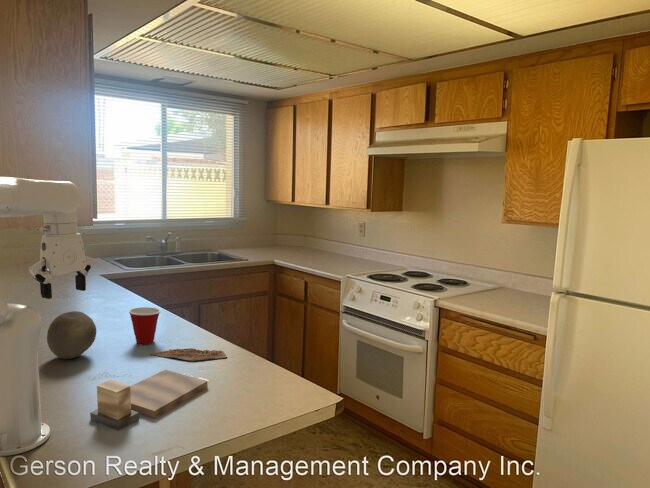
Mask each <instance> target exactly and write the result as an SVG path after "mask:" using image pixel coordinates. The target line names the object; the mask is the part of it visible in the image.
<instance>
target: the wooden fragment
mask: <svg viewBox="0 0 650 488" xmlns="http://www.w3.org/2000/svg"><path fill="white" fill-rule="evenodd" d="M150 356H158V357H163V358H172V359H179V360H185V361H190V362H195V361H204V360H214V359H215V360H216V359H223V358H227V354H226V353H225V351H223V350H215V349H214V350H208V349H206V350H205V349H204V350H202V349H201V350H199V349H197V348H176V349H175V348H174V349H169V350H164V351H160V352H159V351H158V352H155V353H150Z"/></svg>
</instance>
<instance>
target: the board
mask: <svg viewBox="0 0 650 488" xmlns="http://www.w3.org/2000/svg"><path fill="white" fill-rule="evenodd" d="M184 374H185V373H184ZM184 374H182V373H180V372H176V371H172V370H168V369H164V370H161V371H159V372H158V373H155V374H153V375H151V376H149V377H147V378H145V379H142V380H141V381H139V382H136V383H134V384H132V385H129V386H130V390H131V410H133V411H136V412H139V415H142V416H143V415H144V416H145V417H149V418H152V419H157V418H158V417H160V416H161V415H163V414H165V413H166V412H169V411H170V410H172V409H174V408H175V407H177V406H179V405H181V404H182V403H184V402H186V401H187V400H189V399H190V398H192V397H194V396H196V395H197V394H199V393H201V392H203V391H204V390H206V389H207V388H208V382H207V381H206V380H202V379H198V378H199V377H194V376H192V375H191V376H192V377H191V376H187V375H184Z"/></svg>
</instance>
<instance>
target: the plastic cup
mask: <svg viewBox="0 0 650 488" xmlns="http://www.w3.org/2000/svg"><path fill="white" fill-rule="evenodd" d="M161 312H162V310H161V309H160V308H157V307H149V306H146V307H145V306H140V307H133V308H130V309H128V313H129V316H130V320H131V324H132V328H133V334H134V337H135V342H136V344H137V345H141V346H143V345H146V346H147V345H150V344H152V343H154V340H155V335H156V330H157V324H158V319H159V316H160V314H161Z"/></svg>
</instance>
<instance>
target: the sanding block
mask: <svg viewBox="0 0 650 488" xmlns="http://www.w3.org/2000/svg"><path fill="white" fill-rule="evenodd" d="M130 386H131V385H129V384H125V383H122V382H119V381H116V380H114V379H109V380H106V381H103V382H102V383H100V384H98V385H96V396H97V397H96V398H97V408H96V409H95V410H93V411H91V412H90V413H89V415H90V416H89V417H90V420H91V421H93V422H95V423H96V424H97V423H98V424H100V425H103V426H106V427H108V428H110V429H113V430H116V431H121V430H123V429H124V428H127V427H128V426H131V425H132V424H134V423H135V422H138V421H139V420H140V413H139V412H136V411H133V410H131V390H130Z"/></svg>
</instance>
